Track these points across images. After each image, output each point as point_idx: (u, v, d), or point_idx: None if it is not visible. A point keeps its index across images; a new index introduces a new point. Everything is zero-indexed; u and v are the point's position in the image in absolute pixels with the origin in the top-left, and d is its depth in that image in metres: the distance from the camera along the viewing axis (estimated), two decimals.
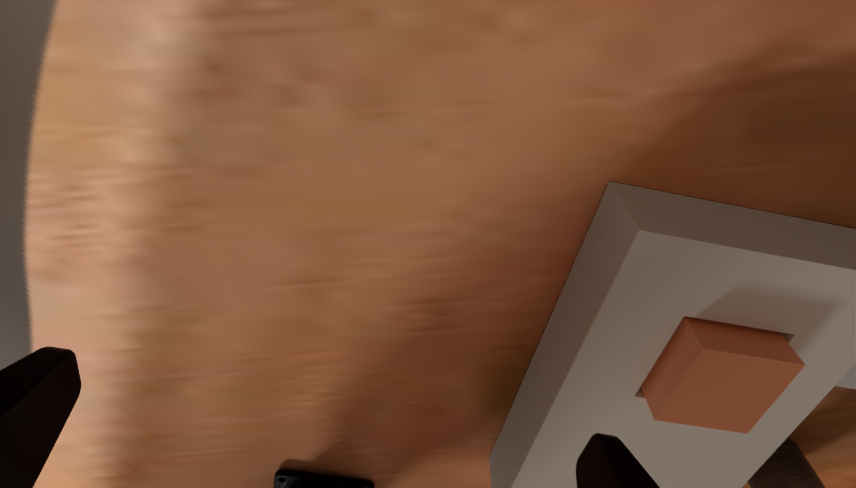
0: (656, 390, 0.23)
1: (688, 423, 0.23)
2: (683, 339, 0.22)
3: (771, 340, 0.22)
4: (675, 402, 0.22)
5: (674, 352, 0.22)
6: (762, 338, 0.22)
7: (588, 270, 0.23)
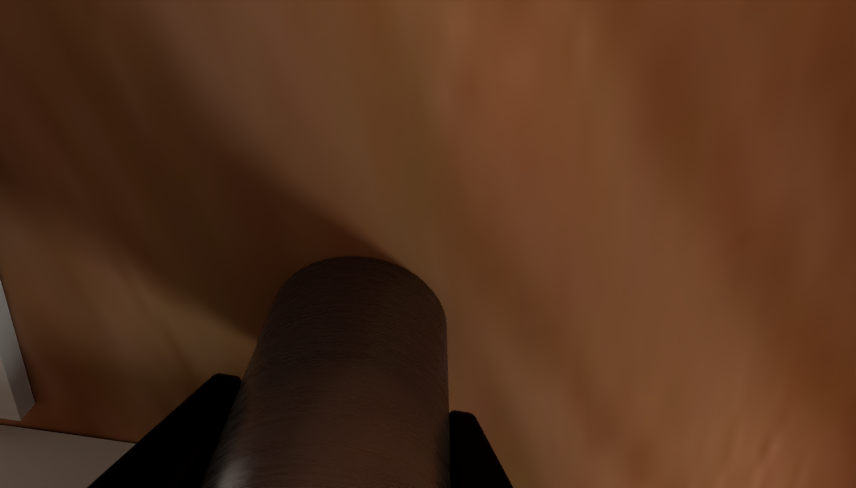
0: None
1: None
2: None
3: None
4: None
5: None
6: None
7: None
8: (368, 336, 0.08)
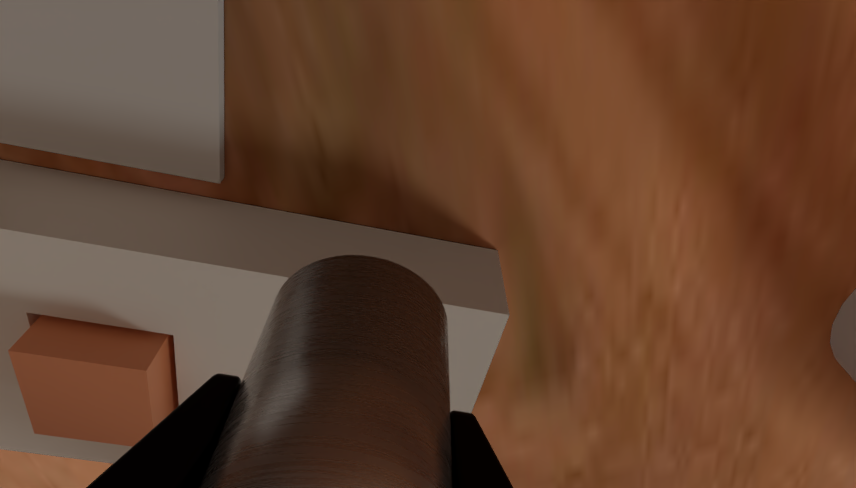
0: None
1: (153, 420, 0.19)
2: None
3: None
4: (120, 439, 0.20)
5: None
6: None
7: None
8: (369, 335, 0.08)
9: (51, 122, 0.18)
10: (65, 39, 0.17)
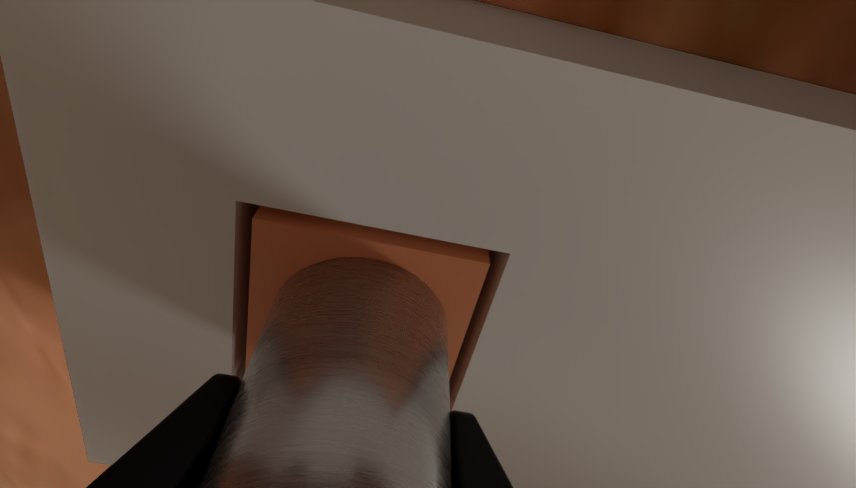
0: None
1: (453, 363, 0.11)
2: None
3: None
4: None
5: None
6: None
7: None
8: (368, 336, 0.08)
9: None
10: None
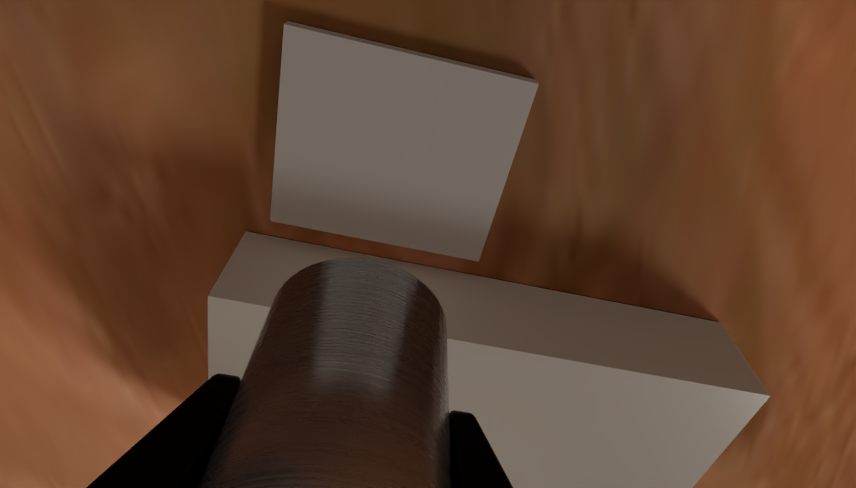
0: None
1: None
2: None
3: None
4: None
5: None
6: None
7: None
8: (367, 338, 0.08)
9: (335, 206, 0.19)
10: (375, 135, 0.18)
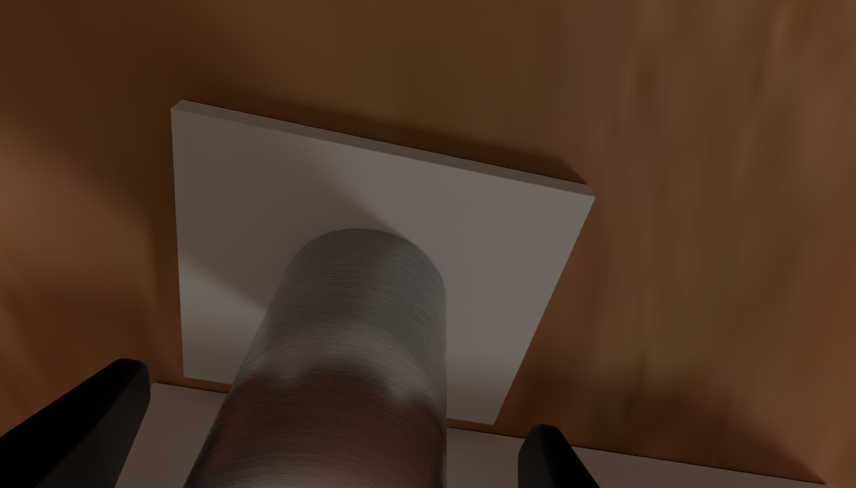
0: None
1: None
2: None
3: None
4: None
5: None
6: None
7: None
8: (372, 292, 0.09)
9: None
10: None
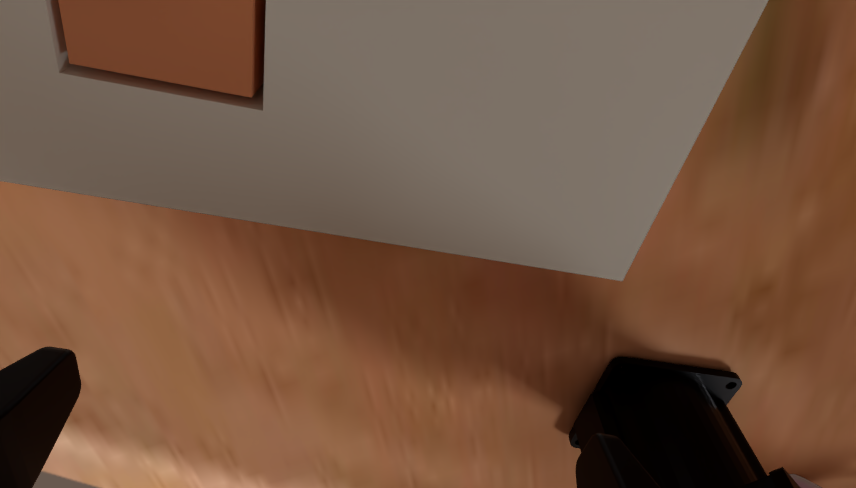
0: None
1: (253, 32, 0.13)
2: None
3: None
4: (200, 73, 0.13)
5: None
6: None
7: None
8: None
9: None
10: None
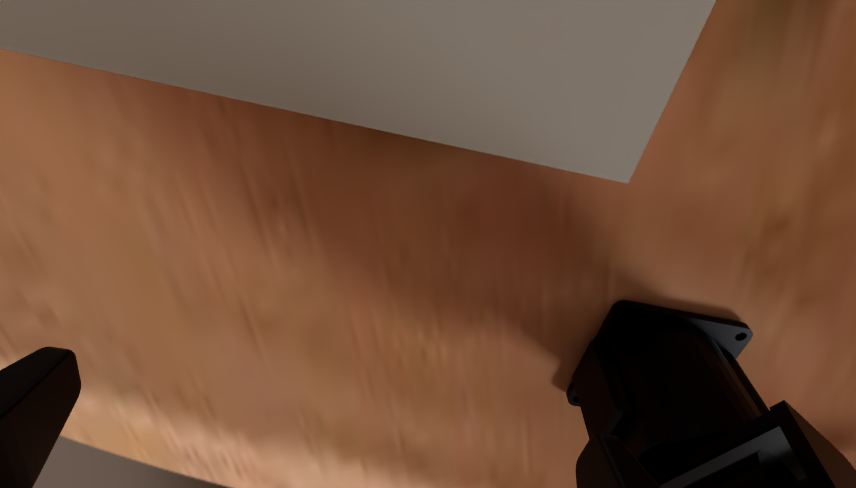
0: None
1: None
2: None
3: None
4: None
5: None
6: None
7: None
8: None
9: None
10: None
